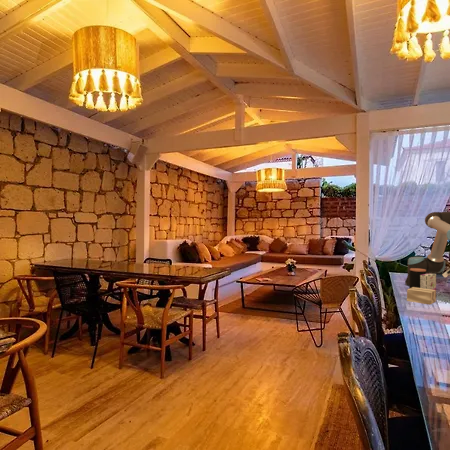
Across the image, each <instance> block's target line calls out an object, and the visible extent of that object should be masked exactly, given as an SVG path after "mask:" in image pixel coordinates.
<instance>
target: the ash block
mask: <svg viewBox="0 0 450 450" xmlns="http://www.w3.org/2000/svg"><path fill="white" fill-rule="evenodd" d="M406 302H410V303H417V304H423V305H429V306H431V305H432V304H434V303H436V302H437V289H436V290H432V289H424V288H417V287H412V288H410V289H409V288H408V289H407V290H406Z"/></svg>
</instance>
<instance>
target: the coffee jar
mask: <svg viewBox="0 0 450 450" xmlns="http://www.w3.org/2000/svg"><path fill="white" fill-rule="evenodd" d="M423 274H427V273H426V270H425V269H419V268H411V269H410V282H409V286H408V287H409V288H408V289H410V288H412V287H417V288H420V275H423Z"/></svg>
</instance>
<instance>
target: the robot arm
mask: <svg viewBox="0 0 450 450" xmlns="http://www.w3.org/2000/svg"><path fill="white" fill-rule="evenodd" d="M424 223H425V225H426V226H427V227H428V228H430V229H435V230H436V233H435V236H434V241H433V243H432V247H431V251H430V253H429V254H428V255H426V256H427V257H426V258H425V257H423V256H411V257H409V258H408V259H407V276H406V279H405V283H404V285H405V286H408V287H409V282H410V269H411V268H419V269H425V270H426V274H440V273H442V274H441V275H442V276H443V277H444V278H447V277H449V276H450V268H449V269H447V270H446V271H445V272H444V270H445V269H446V261H445V259H444V257H443V256H444V252H445V250H446V248H447V247H446V246H447V244H448V241H450V211H434V212H433V211H432V212H430V213H428V214H427V215H426V216H425V218H424ZM443 272H444V273H443Z"/></svg>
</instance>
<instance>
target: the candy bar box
mask: <svg viewBox="0 0 450 450" xmlns="http://www.w3.org/2000/svg"><path fill="white" fill-rule="evenodd" d="M420 288H424V289H432V290H436V291H437V273H426V274H423V275H420Z"/></svg>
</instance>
